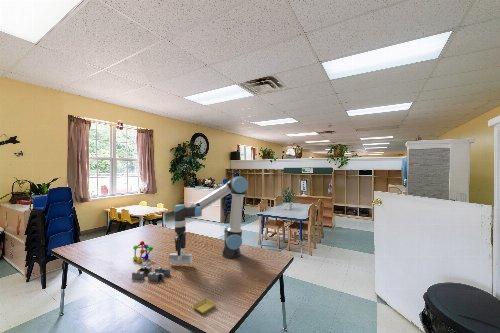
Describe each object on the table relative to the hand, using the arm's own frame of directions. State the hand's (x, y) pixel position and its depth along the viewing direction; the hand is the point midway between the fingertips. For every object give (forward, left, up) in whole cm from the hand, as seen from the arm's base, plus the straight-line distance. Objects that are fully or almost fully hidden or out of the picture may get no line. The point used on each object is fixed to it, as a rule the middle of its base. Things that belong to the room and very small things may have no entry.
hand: (181, 258), depth 159 cm
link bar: (0, 0, -3) cm, 3 cm away
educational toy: (+35, -6, -6) cm, 36 cm away
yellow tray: (-34, +44, -6) cm, 56 cm away
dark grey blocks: (+11, +18, -5) cm, 22 cm away
